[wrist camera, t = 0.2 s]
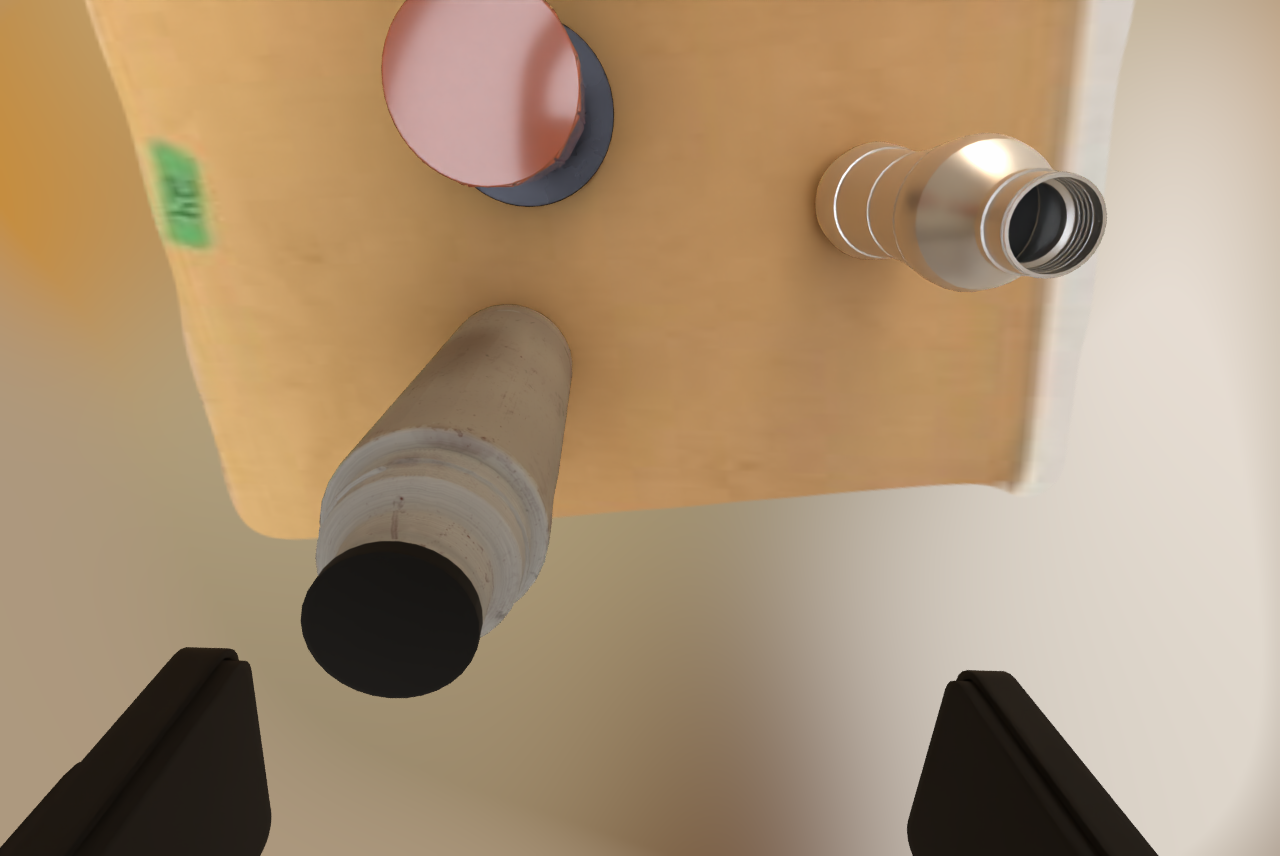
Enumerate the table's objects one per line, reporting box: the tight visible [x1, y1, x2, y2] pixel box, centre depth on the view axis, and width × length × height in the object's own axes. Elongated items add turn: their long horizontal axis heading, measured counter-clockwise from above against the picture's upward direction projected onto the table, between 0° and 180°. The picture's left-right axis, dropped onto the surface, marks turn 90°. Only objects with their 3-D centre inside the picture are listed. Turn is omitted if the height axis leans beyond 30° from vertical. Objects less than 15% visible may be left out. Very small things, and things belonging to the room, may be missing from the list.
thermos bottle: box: [301, 305, 572, 698], centre depth 32 cm, size 8×8×28 cm
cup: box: [381, 0, 585, 187], centre depth 29 cm, size 7×7×9 cm
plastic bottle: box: [815, 133, 1107, 292], centre depth 34 cm, size 6×7×20 cm
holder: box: [475, 24, 614, 207], centre depth 33 cm, size 10×10×16 cm
